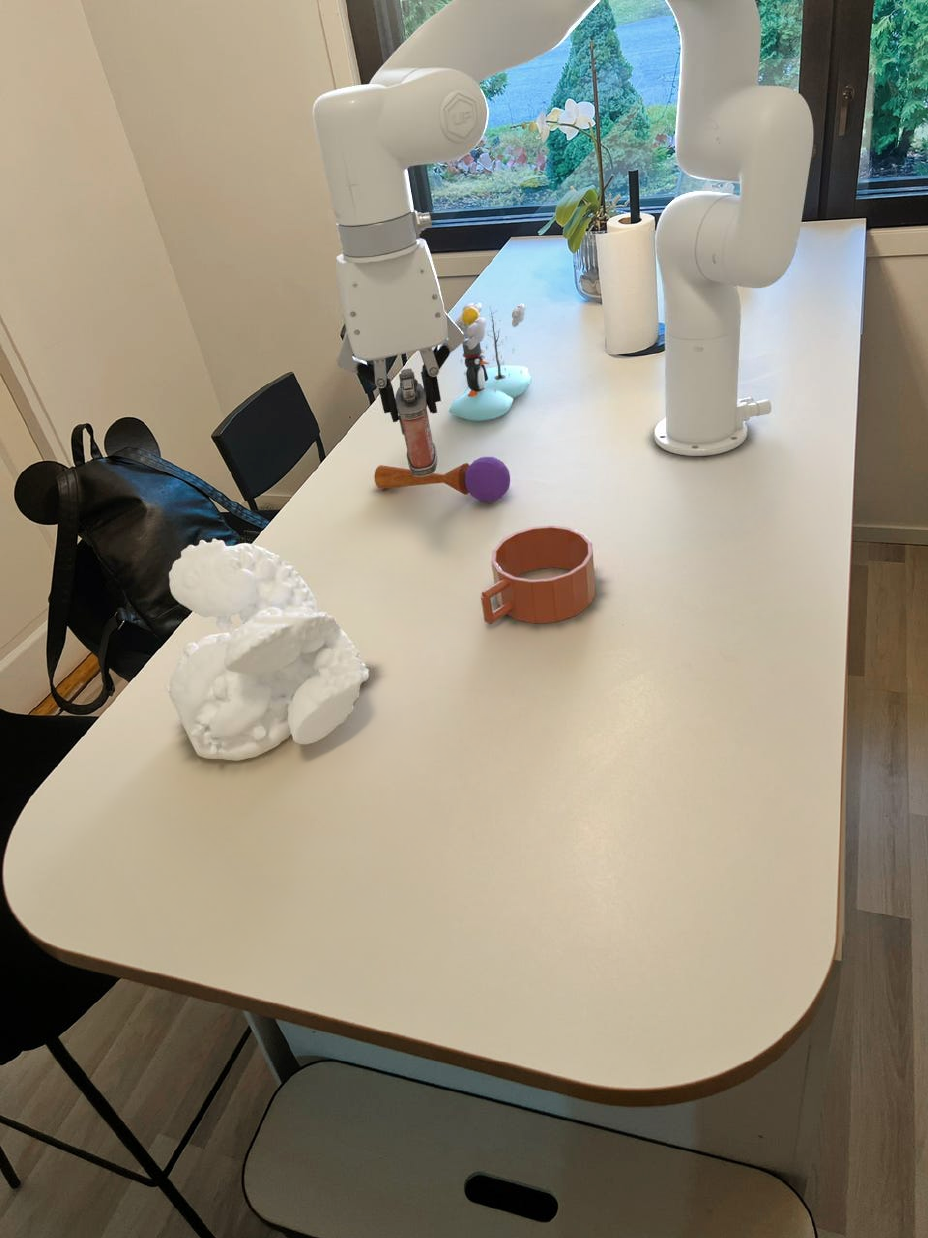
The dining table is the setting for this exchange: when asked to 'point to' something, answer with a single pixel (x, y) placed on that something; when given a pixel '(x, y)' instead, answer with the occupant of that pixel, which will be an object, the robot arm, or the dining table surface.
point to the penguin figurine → (486, 371)
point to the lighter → (415, 425)
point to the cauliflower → (258, 655)
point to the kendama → (455, 478)
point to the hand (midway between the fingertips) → (413, 411)
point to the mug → (541, 595)
